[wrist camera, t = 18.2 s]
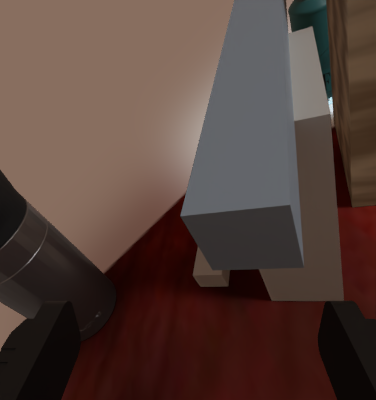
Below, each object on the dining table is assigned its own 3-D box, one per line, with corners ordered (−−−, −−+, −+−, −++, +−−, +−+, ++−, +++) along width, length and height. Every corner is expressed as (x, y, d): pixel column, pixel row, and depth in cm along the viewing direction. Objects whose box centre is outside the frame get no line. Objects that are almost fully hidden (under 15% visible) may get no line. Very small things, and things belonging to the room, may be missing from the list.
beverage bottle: (325, 113, 52) (313, -26, 38) (292, 105, 56) (271, -21, 43) (349, 91, 53) (346, -50, 40) (315, 85, 58) (303, -42, 45)
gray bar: (303, 267, 11) (290, 204, 9) (212, 270, 13) (180, 216, 10) (285, -3, 31) (279, -45, 29) (250, 9, 32) (241, -30, 30)
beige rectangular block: (228, 287, 37) (221, 274, 35) (201, 287, 38) (192, 275, 36) (235, 220, 44) (229, 206, 42) (211, 223, 45) (204, 209, 43)
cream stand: (343, 301, 31) (330, 113, 17) (271, 300, 34) (205, 138, 19) (329, 208, 39) (312, 26, 24) (272, 214, 42) (225, 52, 27)
